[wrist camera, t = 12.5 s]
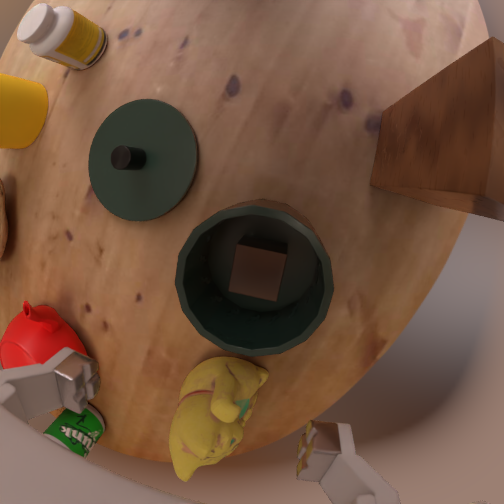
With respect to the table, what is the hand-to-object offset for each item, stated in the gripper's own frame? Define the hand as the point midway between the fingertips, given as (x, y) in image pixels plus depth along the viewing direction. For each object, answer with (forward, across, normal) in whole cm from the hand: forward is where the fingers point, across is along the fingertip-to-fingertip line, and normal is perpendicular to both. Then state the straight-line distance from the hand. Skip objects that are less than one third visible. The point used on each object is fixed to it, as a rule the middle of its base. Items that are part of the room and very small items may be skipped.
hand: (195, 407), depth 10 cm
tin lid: (+22, +15, -8) cm, 28 cm away
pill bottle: (+23, +27, -22) cm, 41 cm away
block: (+22, 0, 0) cm, 22 cm away
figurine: (+23, +1, +15) cm, 27 cm away
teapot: (+23, +27, +20) cm, 41 cm away
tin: (+23, 0, 0) cm, 23 cm away
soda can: (+23, +23, +34) cm, 47 cm away
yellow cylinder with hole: (+23, +37, -13) cm, 45 cm away
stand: (+23, -13, -14) cm, 30 cm away
